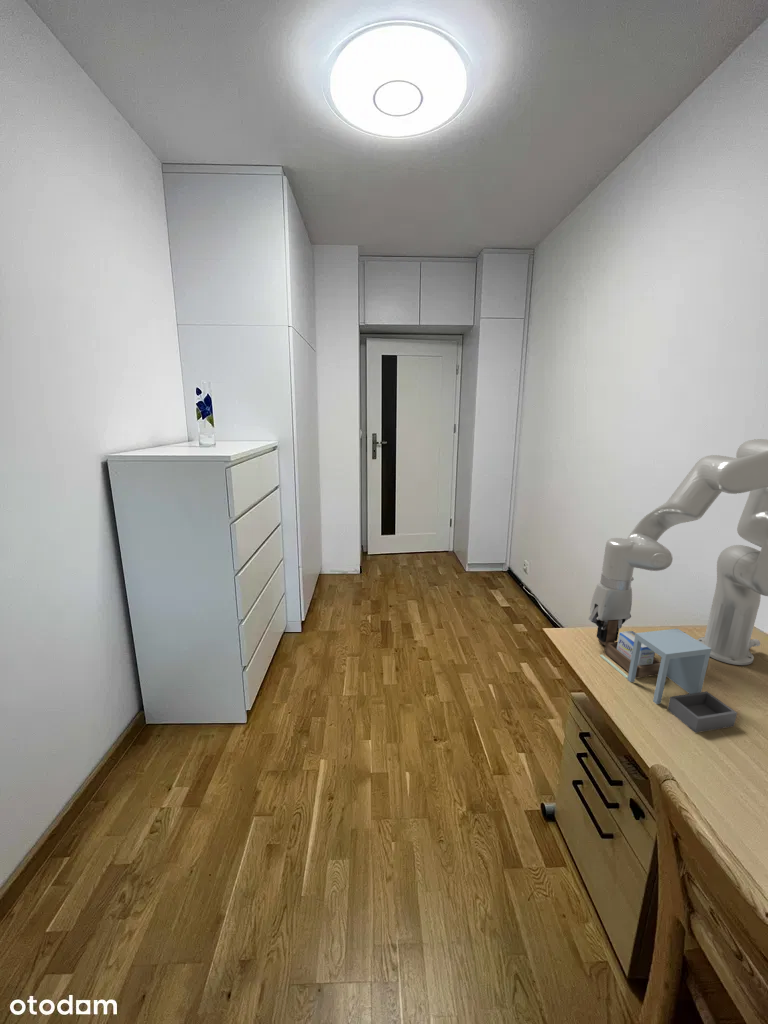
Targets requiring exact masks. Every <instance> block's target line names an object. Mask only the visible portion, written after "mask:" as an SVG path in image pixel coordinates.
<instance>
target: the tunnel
mask: <svg viewBox="0 0 768 1024" xmlns="http://www.w3.org/2000/svg"><path fill="white" fill-rule="evenodd" d="M635 633H636V634H635V640H634V646H633V651H632V657H631V663H630V668H629V672H628V674H627V676H628V678H627V681H628V682H630V683H634V682H635V681H636V678H635V676H636V671H637V665H638V660H639V654H640V649H641V643H642V644H644V645H645V646H647V647H648V648H649V649H651V650H652V651H654V652H655V654H657V655H658V656H660V662H661V663H660V668H659V673H658V675H657V678H656V685H655V688H654V693H653V698H652V702H653V703H654V704H656V705H661V704H662V699H663V694H664V689H665V684H666V679H667V678H668V679H669V680H670V681H672V682H674V684H676V685H678V687H680V688H681V689H683V690H684V691H685V692H687V694H692V693H699V692H703V686H704V681H705V677H706V673H707V669H708V664H709V660H710V652H711V648H709V647H708V646H706V645H704V644H703V643H701V642H699V641H698V639H695V638H694V637H692V636H691V635H689V634H688V633H686V632H684V631H682V630H681V629H679V628H670V629H662V630H653V631H652V630H651V631H645V632H644V631H643V632H635Z"/></svg>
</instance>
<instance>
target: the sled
mask: <svg viewBox="0 0 768 1024" xmlns="http://www.w3.org/2000/svg"><path fill="white" fill-rule="evenodd" d="M601 623H603V621H602V622H601ZM617 625H618V620H608V623H607V627H606V630H607V637H606V642H602V641H601V640H600V639H598V638H597V641H598V642H600V643H601V644H602V645H603V646H605V649H604V653H605V654H606V655H607V656H608V657H610V658H611V660H613V661H615V662H616V663H617V664H618V665H619V666H620V667H621V668H623V669H624V670H625V671H627V672H628V673H629V668H630V663H631V660H630V659H628V658H627V657H626V656H625V655H623V654H622V653H621V652H619V651H618V650H617V644H618V641H615V637H616V631H617ZM660 663H661V660H659V659H658V658H656V657H655V656H654V659H653V664H648V665H640V666H637V671H636V676H635V679H638V678H644V677H652V676H658V673H659V668H660Z"/></svg>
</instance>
